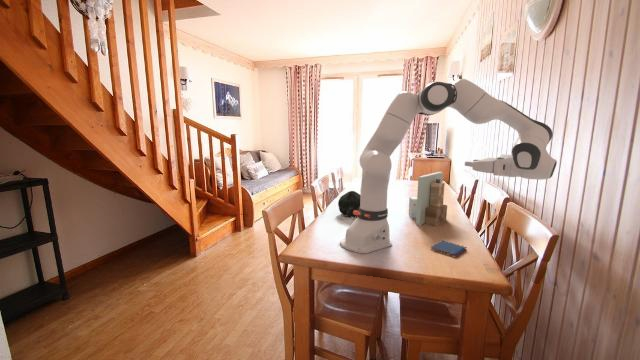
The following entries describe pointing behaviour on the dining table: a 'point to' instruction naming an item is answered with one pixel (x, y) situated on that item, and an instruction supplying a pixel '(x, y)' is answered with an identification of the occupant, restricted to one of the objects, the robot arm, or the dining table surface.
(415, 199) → the small box
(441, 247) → the blue flat slab
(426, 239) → the dining table surface
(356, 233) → the robot arm
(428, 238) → the dining table surface
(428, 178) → the wall panel
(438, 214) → the walnut ledge
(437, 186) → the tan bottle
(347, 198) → the squash
